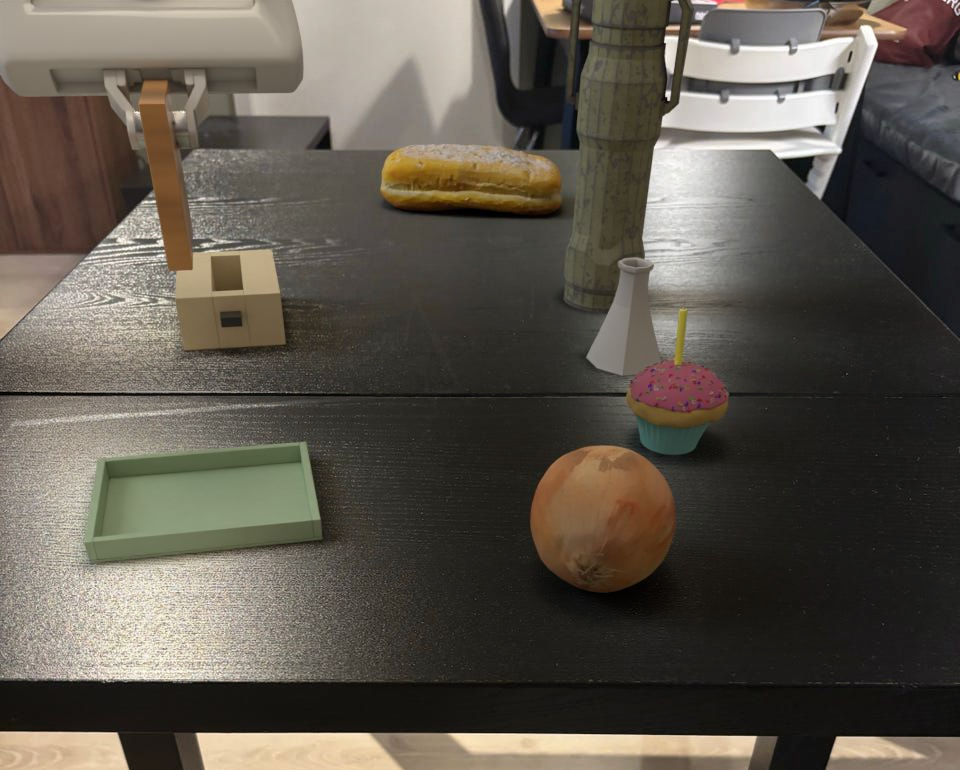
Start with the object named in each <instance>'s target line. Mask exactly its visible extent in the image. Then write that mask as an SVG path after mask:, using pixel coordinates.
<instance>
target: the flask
mask: <svg viewBox="0 0 960 770" xmlns="http://www.w3.org/2000/svg"><path fill="white" fill-rule="evenodd" d="M618 267H619V268H620V279H619V285H618V288H617V291H616V295H615V298H614V301H613V303H612V306H611V308H610V310H609V312H608V313H606V317H605V319H604V320H603V322H602V325H601V327H600V329H599V331H598V332H597V334H596V337H595V339H594V341H593V343H592V344H591V346H590V349H589V350H588V352H587V355H586V356H585V358H586V359H587V360H588V361H589V362H590V363H591V364H592V365H593V366H594V367H595V368H596V369H597V370H602V371H605V372H607V373H611V374H615V375H618V376H622V377H623V376H632V375H633V376H634V375H637V374H638V373H639V372H640V371H642V370H643V369H645V367H647V366H652V365H653V364H654V363H655V364H656V363H658V364H659V363H661V361H662V358H661V354H660V350H659V344H658V341H657V338H656V337H657V336H656V333H655V328H654V322H653V318H652V313H651V308H650V302H649V301H650V300H649V297H650V296H649V280H650V273H651V271H653V270H654V268H655V263H653V262H652V261H650V260H649V259H642V258H637V257H635V258H624V259H622V260H620V261H618Z"/></svg>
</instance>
